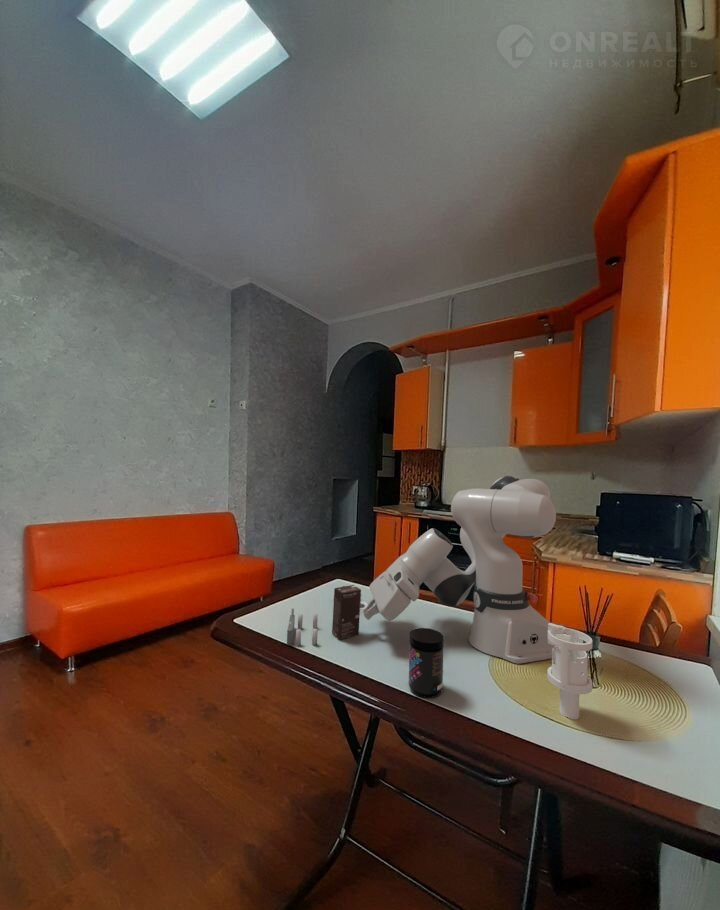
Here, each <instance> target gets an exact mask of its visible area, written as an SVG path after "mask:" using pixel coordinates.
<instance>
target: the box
mask: <svg viewBox="0 0 720 910" xmlns="http://www.w3.org/2000/svg"><path fill="white" fill-rule="evenodd" d="M333 590H334V591H333V606H332V607H333V608H332V611H333V612H332V625H331V626H332V629H331V634H332V636H333V637H335V638H336V639H338V640H339V641H341V640H345V639H349V638H353V637H356V636H359V635H360V633H359V632H360V619H361V618H360V616H361V615H360V614H361V610H360V608H361V604H360V600H361V599H362V595H361V594H362V589H360V588H359V587H357V586H356V585H354V584H352V585H343V586H339V587H335V588H334V589H333Z"/></svg>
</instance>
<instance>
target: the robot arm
mask: <svg viewBox="0 0 720 910" xmlns="http://www.w3.org/2000/svg"><path fill="white" fill-rule="evenodd" d="M450 513H451V516H452V518H453V520H454V521H455V522H456V524H457V525H459V526H460V527H461V528H460V530H459V531H460V532H459V538H460V539H459V540H460V543H461V546H462V548H463V549H464V550H465V552H466V553H467V555H468V557H469V559H470V561H471V564H470V565H469V566H467V568H466V569H465V570H462V569H460V568H458V566H456V565H455V564H454V563H453V562H452V561H451V560H450V559H449V558H447V556H448V555H449V554H450V553H451V551H452V549H453V547H454V545H453V543H452V541H451V540H450V539H449V538H448V537H447V536H446V535H445V534H444V533H442V532H441V531H440V530H438V529H436V528H434V527H433V528H430V529H428V530H427V531H425V532H424V533H423V534H422V535H420V536H419V537H418V538H416V540H414V541H413V542H412V543H411V544H410V546H409V547H408V548H407V551H406V552H404V553H403V554H401V555H400V556H398V557H397V559H395V561H394V562H393V563H391V564H390V565H389V566H388V568H386V570H385V571H383V572H382V573H380V575H378V576H377V577H376V578H375V579H374V580H373V581H372V582H371V583H370V584H369V590H370V592H371V595H372V598H370V601H368V603H367V604H368V605H367V607H366V608H365V609H363V610H362V612H363V616H364V617H365V619H366V620H368V621H369V620H371V618H373V616H375V615H378V614H380V615H381V616H382V617H383V618H384V619H385V620H386V621H387V622H393V620H395V619H396V618H397V617H398V616H400V614H402V613H403V612H404V611H405V610H406V609H407V608H408V607H409V605H410V604H411V602H416V601H417V600H418V598H419V597H420V586H421V585H422V583H423V584H424V585H425V586H427V587H428V590H431V592H432V593H433V594H434V596H435V597H436V598H437V599H438V601H439V602H440V603H441V605H443V606H446V607H457V606H459V605H460V604H462V603H463V602H464V601H465V599H466V598H467V597H468V595H469V594H470V592H471V589H472V588H473V607H474V610H473V618H472V624H471V628H470V633H469V635H468V637H467V638H468V642H469V644H470V645H471V646H473V647H474V648H475V649H476V650H479V651H480V652H482V653H483V654H484V653H485V654H487V655H490V656H494V657H497V658H501V659H504V660H506V661H508V662H511V663H514V664H517V665H518V664H525V663H530V662H531V663H532V662H537V661H544V660H552V648H553V647H555V646H554V645H551V644H548V624H549V623H550V622H549V621H548V620H547V618H545V617H544V616H543V615H541V613H540V612H538V610H536V609H534V607H532V606H531V604H530V603H533V604H536V603H537V602H538V601H539V597H538V595H537V594H535V593H534V594H533V592H528V591H526V590H525V589H523V569H524V568H523V565H524V564H523V561H522V559H521V557H520V555H519V554H518V553H517V551H515V550H514V549H512V548H511V547H510V546H508V545H507V544H506V543H505V542H504V540H503V539H504V537H505V536H506V535H512V536H513V537H520V538H522V539H534V538H539V537H541V536H545V535H546V536H547V534H548V533H550V531H552V530H553V528H554V526H555V523H556V521H557V512H556V508H555V506H554V504H553V502H552V500H551V492H550V488H549V487H548V485H547V484H546V483H545V482H544V481H542V480H540V479H536V478H523V479H520V478H518V477H516V478H515V477H514V476H512V475H505V476H502V477H499V478H497V479H496V480H495V481H494V482H493V483H492V484H491V486H490V488H481V487H480V488H479V487H478V488H477V487H476V488H467V489H462V490H459V491H457V492H456V494H455V495H454V496H453V498H452V501H451V504H450ZM529 601H530V603H529Z"/></svg>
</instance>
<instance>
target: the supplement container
mask: <svg viewBox="0 0 720 910" xmlns="http://www.w3.org/2000/svg"><path fill="white" fill-rule="evenodd" d="M444 638H445V637H444V634H442V632H440V631H439V630H435V629H432V628H428V627H418V628H417V627H416V628H414V629H411V630H410V632H409V640H408V641H409V647H408V648H409V651H408V653H409V658H408V687H409V689H410V690H411V692H412V693H413V694H415V695H416V696H418V697H421V698H424V699H425V698H426V699H431V698H436V697H439V696H440V695H441V693H442V691H443V686H444V684H443V683H444V682H443V681H444V647H445V646H444V644H445V641H444Z"/></svg>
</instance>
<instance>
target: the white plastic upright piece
mask: <svg viewBox="0 0 720 910" xmlns="http://www.w3.org/2000/svg"><path fill="white" fill-rule="evenodd" d="M564 634H566V636H570V640H569V641H567V640H564V639H560V638H558V637H557V636H556V635H564ZM578 639H579V640H582V641H583V642H584V643H583V642H578ZM548 644H551V645H554V646H555V647H553V648H552V658H551V666H550V667H548V668H547V671H546V672H547V676H546V677H547V680H548V681H549V683H551V684H552V685H554V686H555V687H556V688H557V689H559V712H560V714H561V715H562V716H563V717H565V716H566V717H565V718H567V717H568V718H567V719H569V718H572V719H571V720H579V719H580V695H587V694H590V693H592V692H593V680H592V678H591V677H590V676H589V675H588V653H587V652H589V651H591V650H592V649H593V639H592V637H591V636H590V635H588V634H586V633H584V632H582V631H580V630H577V629H573V628H570V627H569V628H568V627H565V626H564V625H558V624H555V623H552V622H549V624H548Z"/></svg>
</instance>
